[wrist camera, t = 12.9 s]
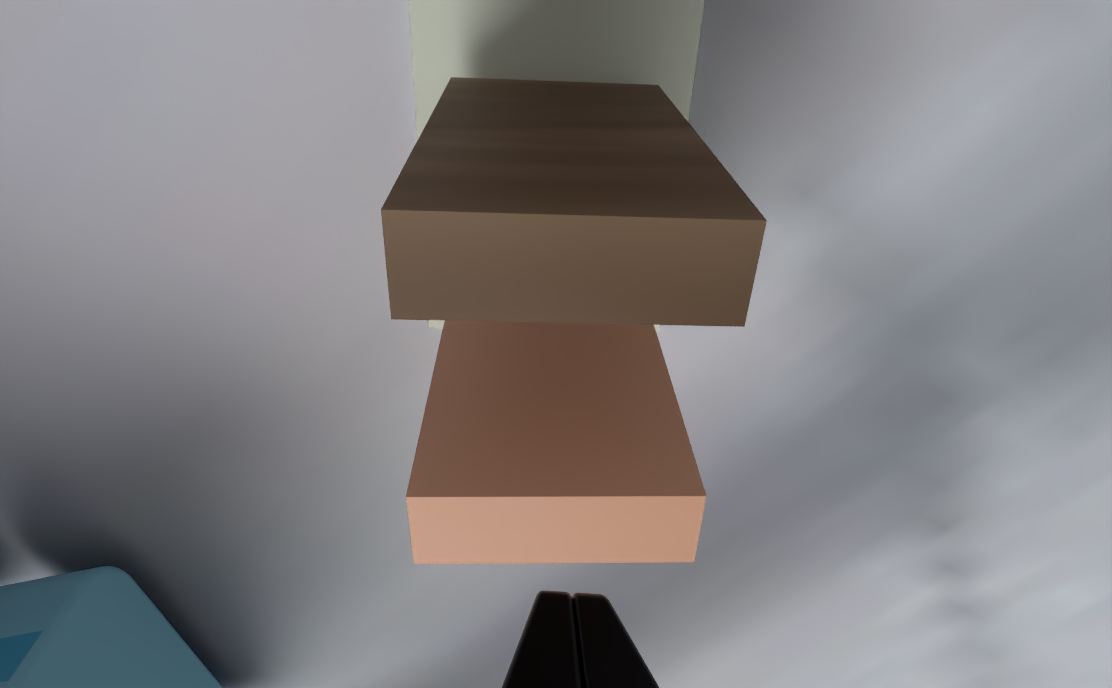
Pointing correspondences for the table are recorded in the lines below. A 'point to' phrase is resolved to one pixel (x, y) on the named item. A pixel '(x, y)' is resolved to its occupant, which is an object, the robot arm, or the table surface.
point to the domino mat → (554, 46)
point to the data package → (91, 636)
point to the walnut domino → (567, 211)
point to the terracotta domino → (552, 449)
